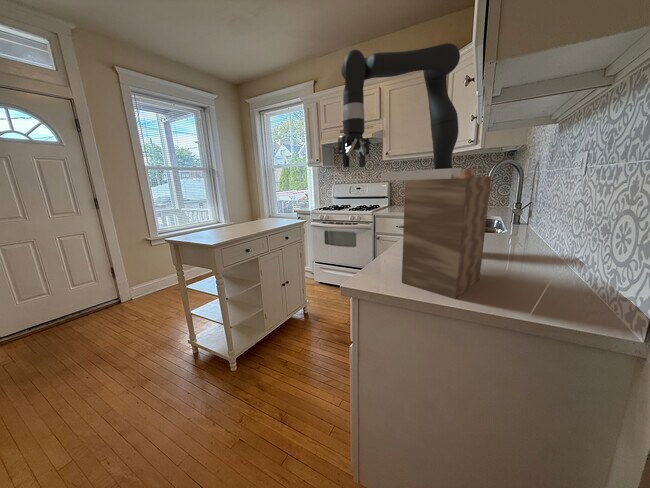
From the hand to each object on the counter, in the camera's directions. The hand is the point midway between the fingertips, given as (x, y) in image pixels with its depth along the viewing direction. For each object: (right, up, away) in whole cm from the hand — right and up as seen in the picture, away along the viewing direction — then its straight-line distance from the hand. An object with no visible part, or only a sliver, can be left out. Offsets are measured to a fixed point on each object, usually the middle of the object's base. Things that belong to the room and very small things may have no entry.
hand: (354, 167), depth 94 cm
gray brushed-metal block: (+15, -10, -20) cm, 27 cm away
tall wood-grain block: (+25, -40, -15) cm, 50 cm away
